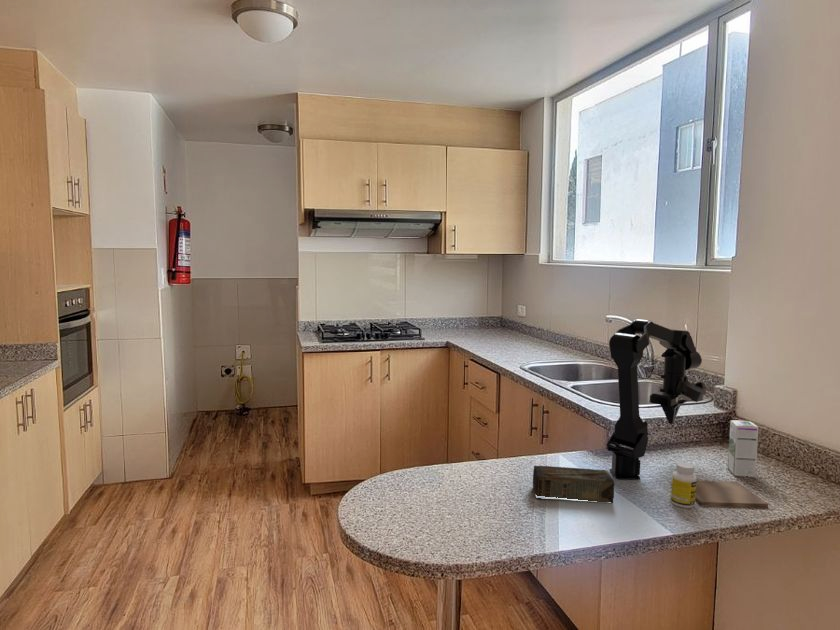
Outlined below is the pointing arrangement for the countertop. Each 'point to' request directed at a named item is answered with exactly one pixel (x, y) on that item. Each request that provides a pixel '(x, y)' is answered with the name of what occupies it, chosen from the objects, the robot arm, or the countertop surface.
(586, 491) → the beverage carton
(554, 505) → the countertop surface
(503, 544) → the countertop surface
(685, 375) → the robot arm
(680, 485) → the supplement bottle
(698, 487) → the walnut board
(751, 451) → the syrup box
